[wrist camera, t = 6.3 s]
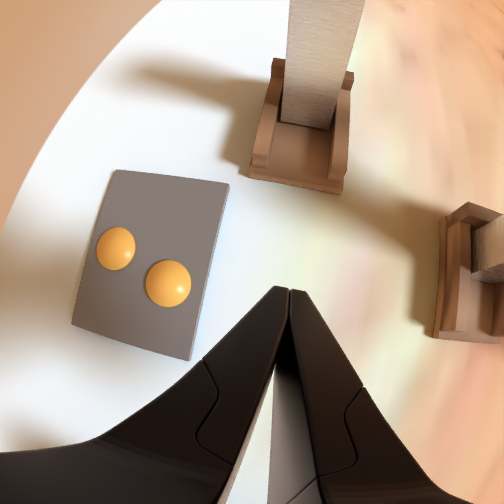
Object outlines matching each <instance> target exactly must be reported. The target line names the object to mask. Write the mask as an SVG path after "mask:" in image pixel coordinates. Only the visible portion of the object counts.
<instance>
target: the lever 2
mask: <svg viewBox="0 0 504 504" xmlns="http://www.w3.org/2000/svg"><path fill="white" fill-rule="evenodd" d="M470 236H471V274H470V279H474V280H478V281H483V282H487V283H492V284H496V283H500V282H503V281H504V214H503V215H502V216H500V217H498V218H496V219H495V220H493V221H491V222H490V223H488V224H486V225H484V226H483V227H481V228H479V229H477V230H475V231H474V232H472V233H470Z"/></svg>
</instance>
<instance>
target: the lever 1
mask: <svg viewBox="0 0 504 504" xmlns="http://www.w3.org/2000/svg"><path fill="white" fill-rule="evenodd" d="M364 4H365V0H290V7H289V21H288V35H287V49H286V62H285V74H284V87H283V99H282V111H281V121H283V122H289V123H294V124H300V125H305V126H311V127H316V128H321V129H325V130H328V129H329V126H330V122H331V119H332V116H333V113H334V109H335V106H336V103H337V99H338V96H339V93H340V89H341V86H342V83H343V79H344V76H345V72H346V69H347V65H348V62H349V58H350V55H351V51H352V48H353V44H354V41H355V37H356V33H357V30H358V26H359V22H360V19H361V15H362V11H363V7H364Z"/></svg>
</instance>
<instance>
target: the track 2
mask: <svg viewBox="0 0 504 504" xmlns="http://www.w3.org/2000/svg"><path fill="white" fill-rule="evenodd" d="M502 215H503V214H501V213H498V212H495V211H493V210H490V209H487V208H484V207H482V206H479V205H476V204H473V203H470V202H467V203H465V204H464V205H463V206H461V207H460V208H458V209H457V210H456V211H454V212H453V213H451V214H450V215H449V216H444V217H443V218H441V219H440V261H439V281H438V294H437V305H436V315H435V324H434V331H433V338H435V339H445V340H455V341H466V342H477V343H490V344H500V337H504V281H503V282H500V283H496V284H492V283H487V282H483V281H478V280H474V279H470V274H471V236H470V233H472V232H474V231H475V230H477V229H479V228H481V227H483V226H484V225H486V224H488V223H490V222H491V221H493V220H495V219H496V218H498V217H500V216H502Z"/></svg>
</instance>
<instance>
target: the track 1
mask: <svg viewBox="0 0 504 504" xmlns="http://www.w3.org/2000/svg"><path fill="white" fill-rule="evenodd" d="M285 62H286V59H279V58H273V62H272V65H271V79H270V82H269V86H268V90H267V94H266V98H265V102H264V106H263V110H262V114H261V118H260V122H259V126H258V130H257V134H256V138H255V142H254V146H253V151H252V159H251V163H250V167H249V171H248V176H249V178H253V179H259V180H265V181H271V182H277V183H282V184H288V185H293V186H298V187H304V188H309V189H314V190H319V191H324V192H329V193H333V194H338V195H340V194H341V192H342V190H343V180H344V175H345V173H346V171H347V160H348V143H349V123H350V91H351V88H352V85H353V82H354V73H353V72H349V71H346V72H345V76H344V79H343V83H342V86H341V89H340V93H339V96H338V99H337V103H336V106H335V109H334V113H333V116H332V119H331V122H330V126H329V129H328V130H325V129H321V128H316V127H311V126H305V125H300V124H294V123H289V122H283V121H281V111H282V99H283V87H284V74H285Z"/></svg>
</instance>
